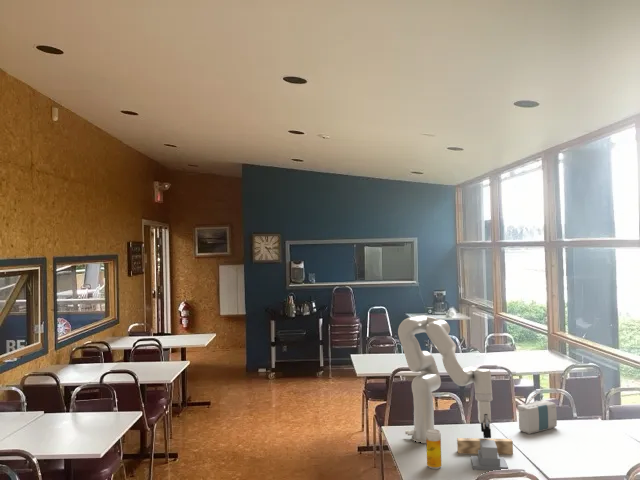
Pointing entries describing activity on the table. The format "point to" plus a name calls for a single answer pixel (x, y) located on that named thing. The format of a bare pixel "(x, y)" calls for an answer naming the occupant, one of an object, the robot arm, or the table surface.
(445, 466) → the table surface
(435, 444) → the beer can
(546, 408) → the stereo radio cassette player
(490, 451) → the fulcrum stand
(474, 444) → the tan long bar
